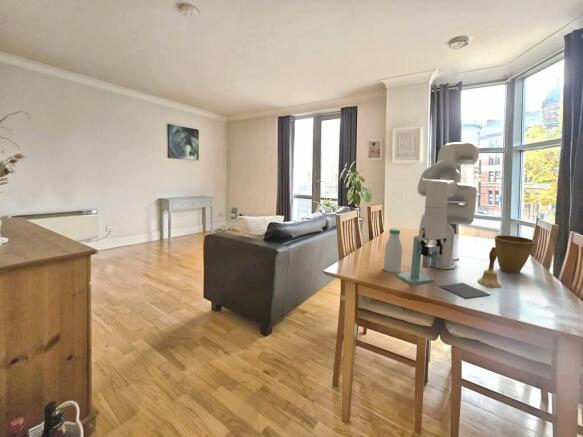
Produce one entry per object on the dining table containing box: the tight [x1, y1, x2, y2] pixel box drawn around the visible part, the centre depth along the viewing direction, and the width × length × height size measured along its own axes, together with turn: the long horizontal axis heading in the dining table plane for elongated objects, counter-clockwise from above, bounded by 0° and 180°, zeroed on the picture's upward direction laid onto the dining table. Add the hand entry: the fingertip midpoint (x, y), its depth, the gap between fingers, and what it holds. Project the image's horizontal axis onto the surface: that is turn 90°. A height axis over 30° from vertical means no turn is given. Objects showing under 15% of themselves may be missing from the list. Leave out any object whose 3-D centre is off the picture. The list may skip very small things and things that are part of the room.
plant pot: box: [494, 234, 536, 274], centre depth 132 cm, size 15×15×16 cm
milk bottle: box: [383, 228, 403, 274], centre depth 131 cm, size 8×8×20 cm
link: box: [421, 244, 440, 270], centre depth 112 cm, size 6×2×9 cm, turn 106°
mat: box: [439, 282, 491, 300], centre depth 109 cm, size 12×12×1 cm
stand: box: [395, 235, 440, 285], centre depth 117 cm, size 12×17×19 cm
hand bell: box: [477, 246, 502, 288], centre depth 116 cm, size 8×8×16 cm
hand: (431, 254), depth 112 cm, fingers closed on link, 6 cm apart
